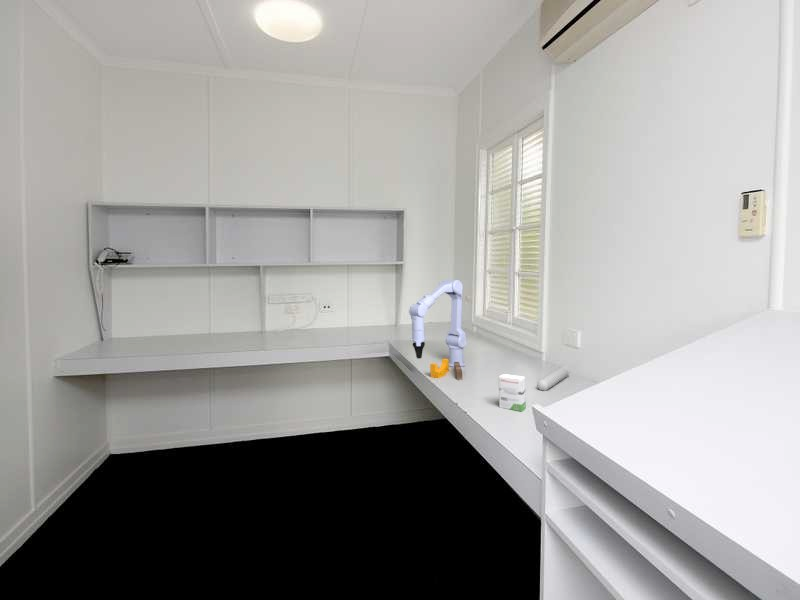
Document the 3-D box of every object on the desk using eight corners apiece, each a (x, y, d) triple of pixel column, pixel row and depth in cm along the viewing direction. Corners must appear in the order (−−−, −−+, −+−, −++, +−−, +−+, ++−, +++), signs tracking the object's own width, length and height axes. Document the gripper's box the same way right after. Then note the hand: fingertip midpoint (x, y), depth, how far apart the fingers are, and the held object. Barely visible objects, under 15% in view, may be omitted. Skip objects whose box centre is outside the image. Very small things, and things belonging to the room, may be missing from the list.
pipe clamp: (438, 378, 187) (438, 365, 186) (430, 377, 189) (430, 363, 189) (452, 372, 196) (451, 359, 195) (444, 371, 199) (444, 358, 198)
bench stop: (454, 369, 200) (454, 361, 199) (459, 369, 199) (458, 361, 199) (457, 379, 184) (456, 371, 183) (462, 379, 184) (462, 370, 183)
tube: (549, 383, 162) (571, 369, 180) (537, 377, 165) (559, 363, 183) (545, 395, 163) (567, 379, 182) (533, 388, 167) (555, 373, 185)
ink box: (526, 407, 147) (526, 376, 146) (521, 412, 143) (521, 379, 142) (503, 403, 153) (503, 372, 151) (498, 407, 149) (498, 376, 147)
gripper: (410, 327, 198) (411, 354, 199) (409, 332, 183) (410, 362, 185) (424, 326, 197) (425, 354, 199) (424, 332, 183) (425, 361, 184)
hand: (419, 357), depth 192 cm, fingers closed
